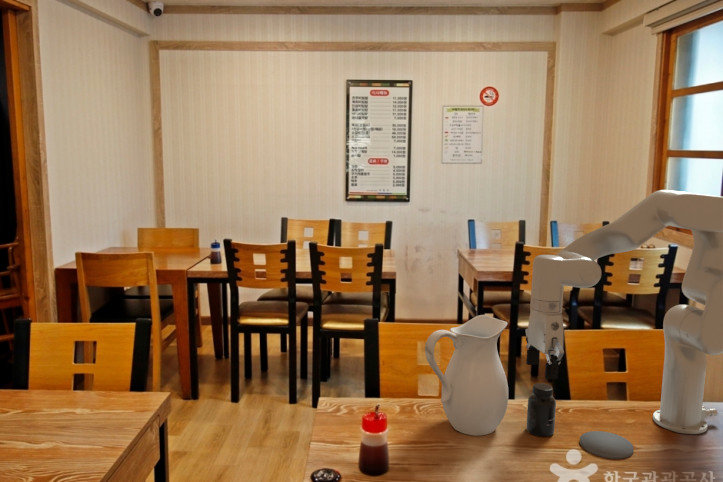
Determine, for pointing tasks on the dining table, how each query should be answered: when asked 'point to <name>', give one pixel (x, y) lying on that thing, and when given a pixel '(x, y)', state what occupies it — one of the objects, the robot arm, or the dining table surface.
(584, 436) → the coaster
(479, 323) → the pitcher
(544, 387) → the supplement bottle
